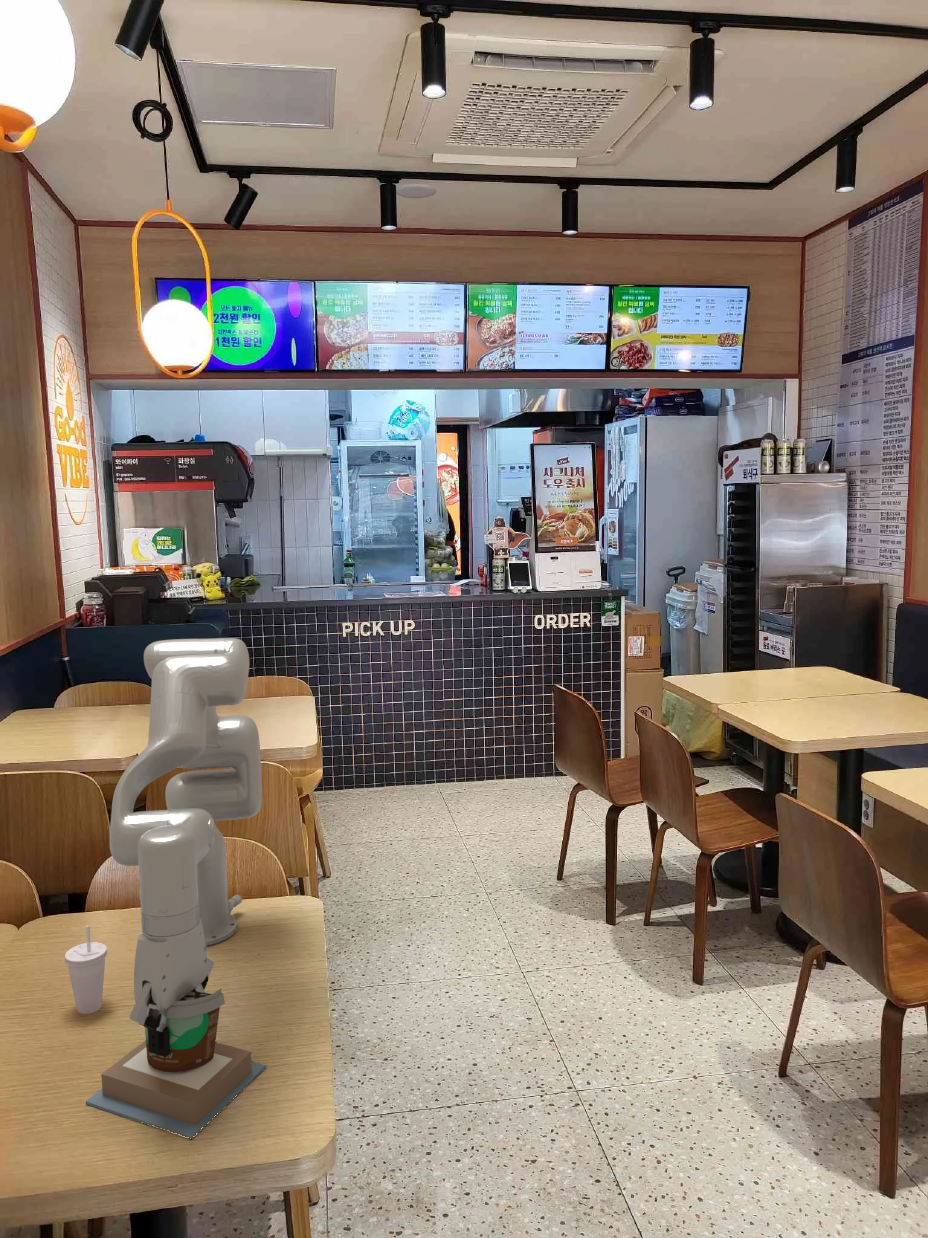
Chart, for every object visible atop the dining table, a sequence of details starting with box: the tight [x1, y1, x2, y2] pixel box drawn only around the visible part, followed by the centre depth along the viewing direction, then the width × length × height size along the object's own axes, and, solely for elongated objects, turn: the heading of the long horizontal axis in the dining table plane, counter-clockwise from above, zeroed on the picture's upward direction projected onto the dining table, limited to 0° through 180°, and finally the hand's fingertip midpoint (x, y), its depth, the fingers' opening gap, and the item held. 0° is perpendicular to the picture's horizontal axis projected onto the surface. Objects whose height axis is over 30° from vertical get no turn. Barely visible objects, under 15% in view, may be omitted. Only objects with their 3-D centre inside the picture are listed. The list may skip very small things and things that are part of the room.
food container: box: [144, 988, 226, 1072], centre depth 122 cm, size 12×6×10 cm, turn 79°
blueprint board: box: [85, 1039, 267, 1140], centre depth 123 cm, size 16×18×4 cm
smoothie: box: [64, 925, 108, 1015], centre depth 142 cm, size 6×6×14 cm
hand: (176, 1038), depth 123 cm, fingers open, 6 cm apart
